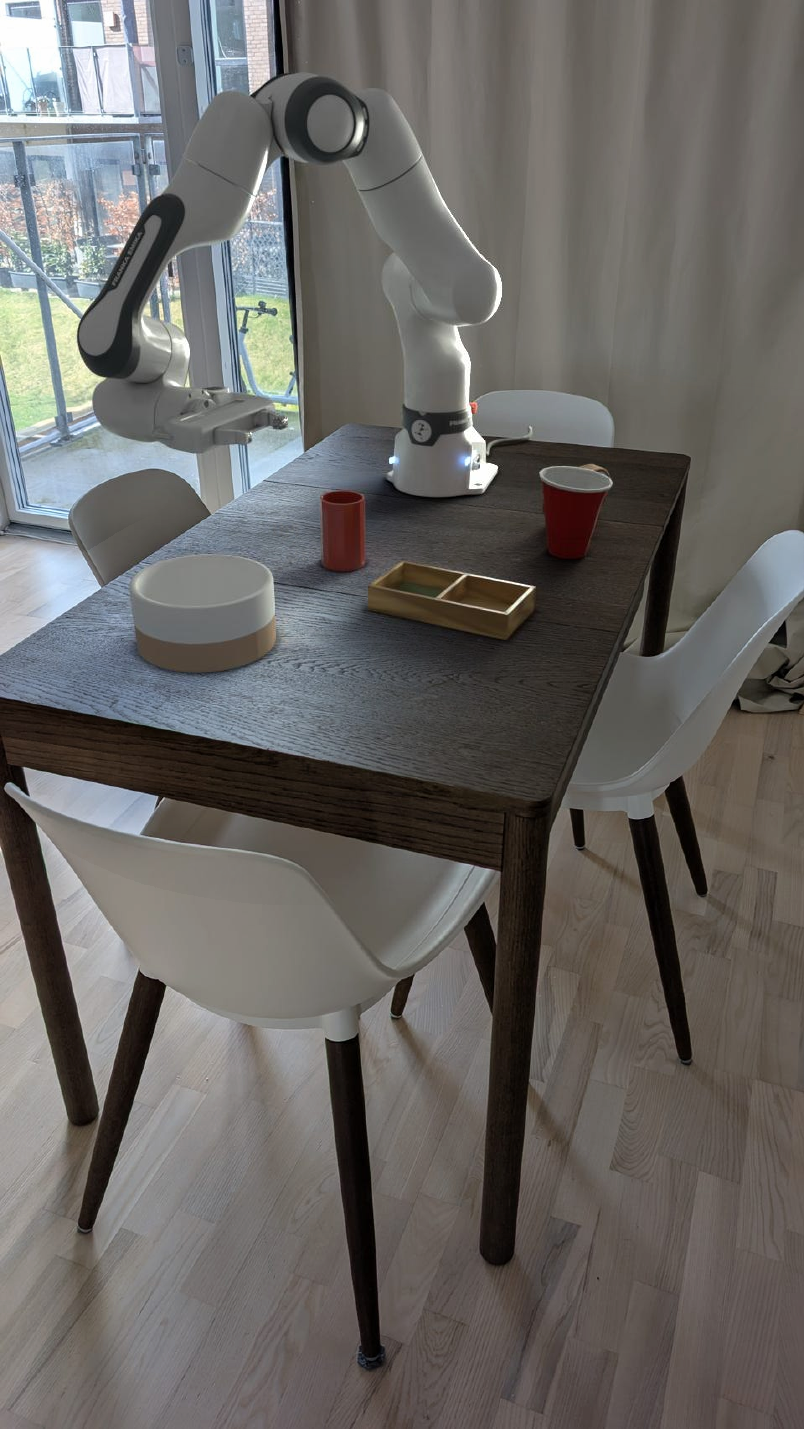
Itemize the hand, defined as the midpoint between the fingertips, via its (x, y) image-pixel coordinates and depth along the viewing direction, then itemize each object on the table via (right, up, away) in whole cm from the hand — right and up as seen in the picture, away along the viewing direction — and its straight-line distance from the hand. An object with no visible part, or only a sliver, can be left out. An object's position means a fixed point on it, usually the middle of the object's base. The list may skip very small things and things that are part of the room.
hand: (267, 430), depth 148 cm
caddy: (+26, -27, -10) cm, 38 cm away
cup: (+11, -18, +4) cm, 22 cm away
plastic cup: (+45, -16, +9) cm, 48 cm away
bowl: (-5, -32, -19) cm, 37 cm away
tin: (+48, -9, +22) cm, 54 cm away
